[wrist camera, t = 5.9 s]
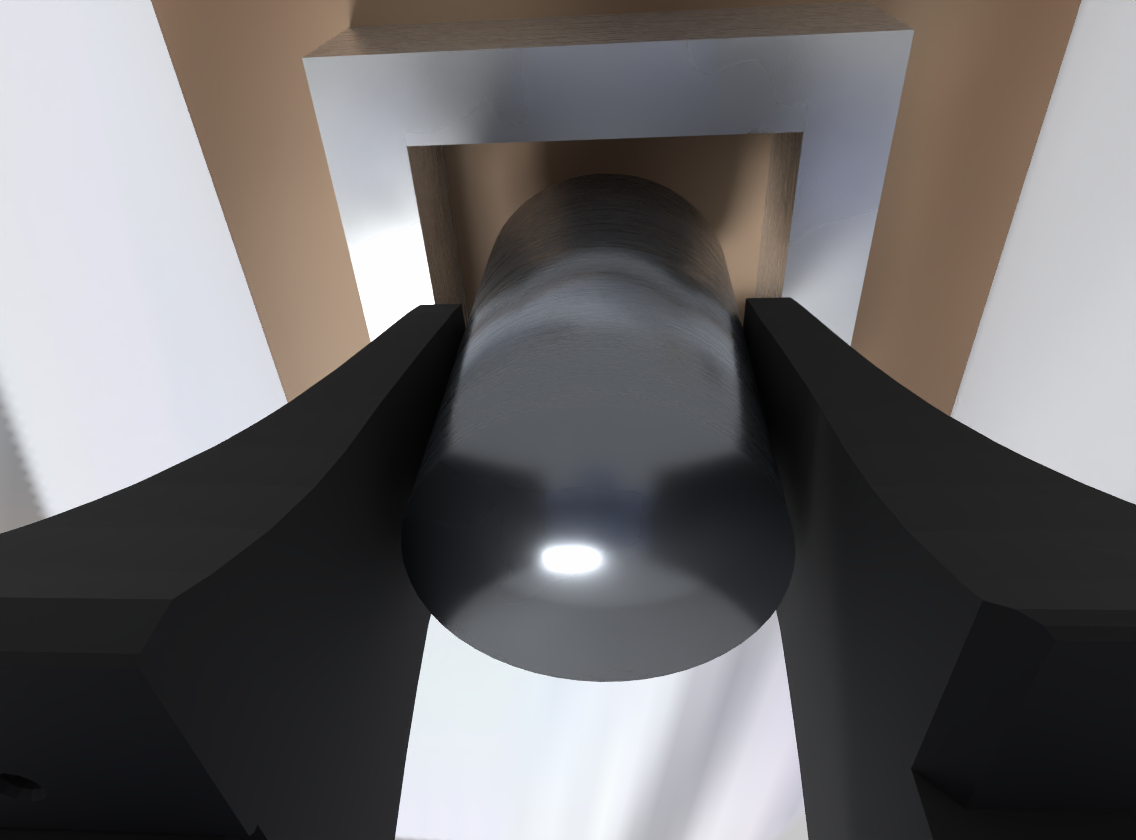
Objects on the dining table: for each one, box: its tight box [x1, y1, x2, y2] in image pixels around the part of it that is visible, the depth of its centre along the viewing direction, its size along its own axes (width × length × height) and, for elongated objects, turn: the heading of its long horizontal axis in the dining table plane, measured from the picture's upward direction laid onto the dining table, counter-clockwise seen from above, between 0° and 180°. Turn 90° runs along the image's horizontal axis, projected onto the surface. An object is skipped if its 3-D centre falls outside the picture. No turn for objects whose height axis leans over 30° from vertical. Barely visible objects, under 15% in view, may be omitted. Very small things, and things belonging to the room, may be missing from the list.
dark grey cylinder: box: [401, 173, 796, 682], centre depth 10 cm, size 4×4×6 cm
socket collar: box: [302, 1, 914, 346], centre depth 13 cm, size 8×8×2 cm
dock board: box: [151, 0, 1081, 416], centre depth 14 cm, size 14×14×1 cm
